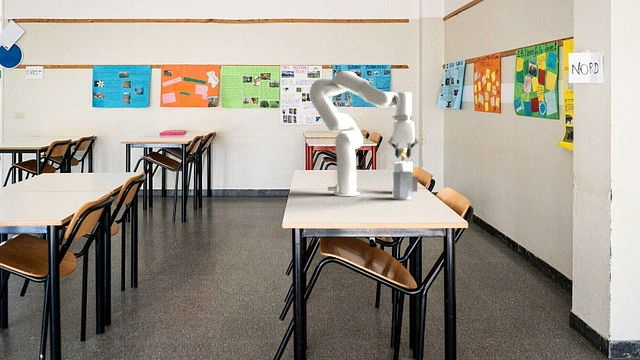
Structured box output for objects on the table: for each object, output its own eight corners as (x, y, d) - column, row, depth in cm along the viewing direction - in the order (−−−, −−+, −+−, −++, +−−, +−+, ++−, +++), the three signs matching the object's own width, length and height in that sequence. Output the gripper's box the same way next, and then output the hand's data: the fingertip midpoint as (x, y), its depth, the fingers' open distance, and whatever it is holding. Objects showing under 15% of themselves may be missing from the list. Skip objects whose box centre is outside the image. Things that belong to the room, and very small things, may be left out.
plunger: (396, 182, 296) (397, 148, 294) (395, 180, 302) (395, 147, 300) (409, 182, 296) (410, 148, 294) (407, 180, 302) (408, 147, 300)
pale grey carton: (393, 200, 295) (394, 172, 293) (391, 197, 304) (391, 170, 303) (418, 200, 295) (418, 172, 293) (415, 197, 304) (415, 170, 303)
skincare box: (405, 194, 314) (405, 162, 312) (392, 193, 318) (393, 162, 316) (413, 192, 321) (413, 161, 319) (401, 191, 325) (401, 160, 323)
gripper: (386, 119, 291) (385, 158, 294) (422, 118, 291) (421, 158, 294) (384, 118, 299) (384, 157, 301) (420, 118, 299) (419, 156, 301)
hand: (402, 157), depth 297 cm, fingers open, 4 cm apart
